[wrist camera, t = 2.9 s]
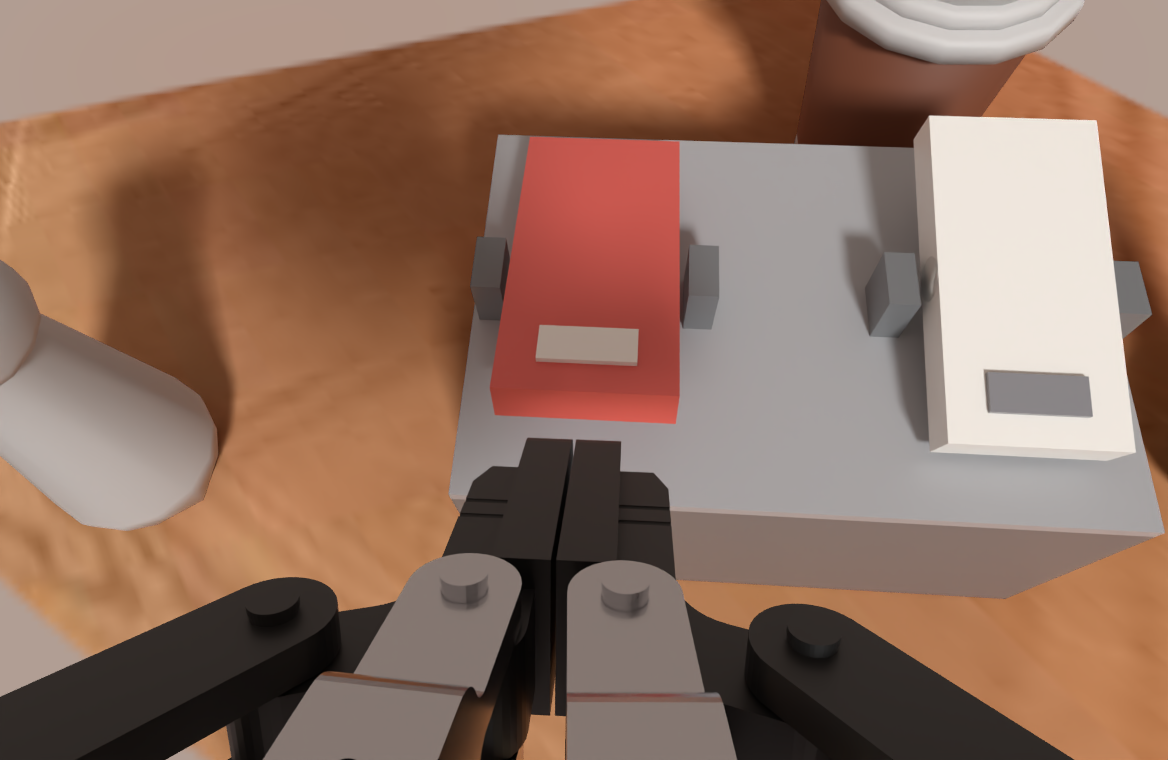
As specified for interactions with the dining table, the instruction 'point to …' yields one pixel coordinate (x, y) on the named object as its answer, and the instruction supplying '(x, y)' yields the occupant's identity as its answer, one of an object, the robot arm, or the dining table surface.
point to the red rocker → (593, 284)
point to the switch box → (814, 393)
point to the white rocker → (1019, 290)
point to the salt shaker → (96, 421)
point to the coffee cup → (915, 63)
